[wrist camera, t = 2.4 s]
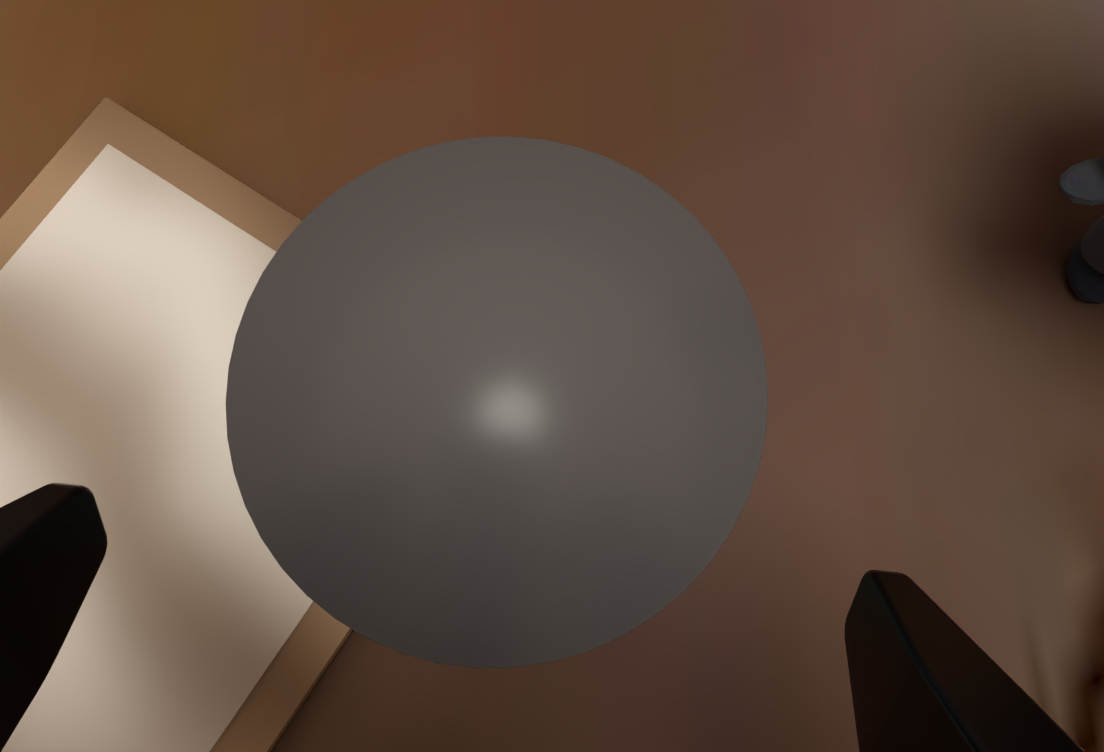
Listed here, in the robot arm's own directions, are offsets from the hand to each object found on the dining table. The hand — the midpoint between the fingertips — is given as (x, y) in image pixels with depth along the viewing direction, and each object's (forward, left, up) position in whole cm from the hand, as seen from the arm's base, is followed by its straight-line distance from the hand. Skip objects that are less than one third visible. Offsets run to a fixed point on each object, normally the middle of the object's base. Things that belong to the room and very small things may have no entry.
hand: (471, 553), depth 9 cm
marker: (+1, 0, -9) cm, 9 cm away
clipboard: (-4, +9, -9) cm, 13 cm away
